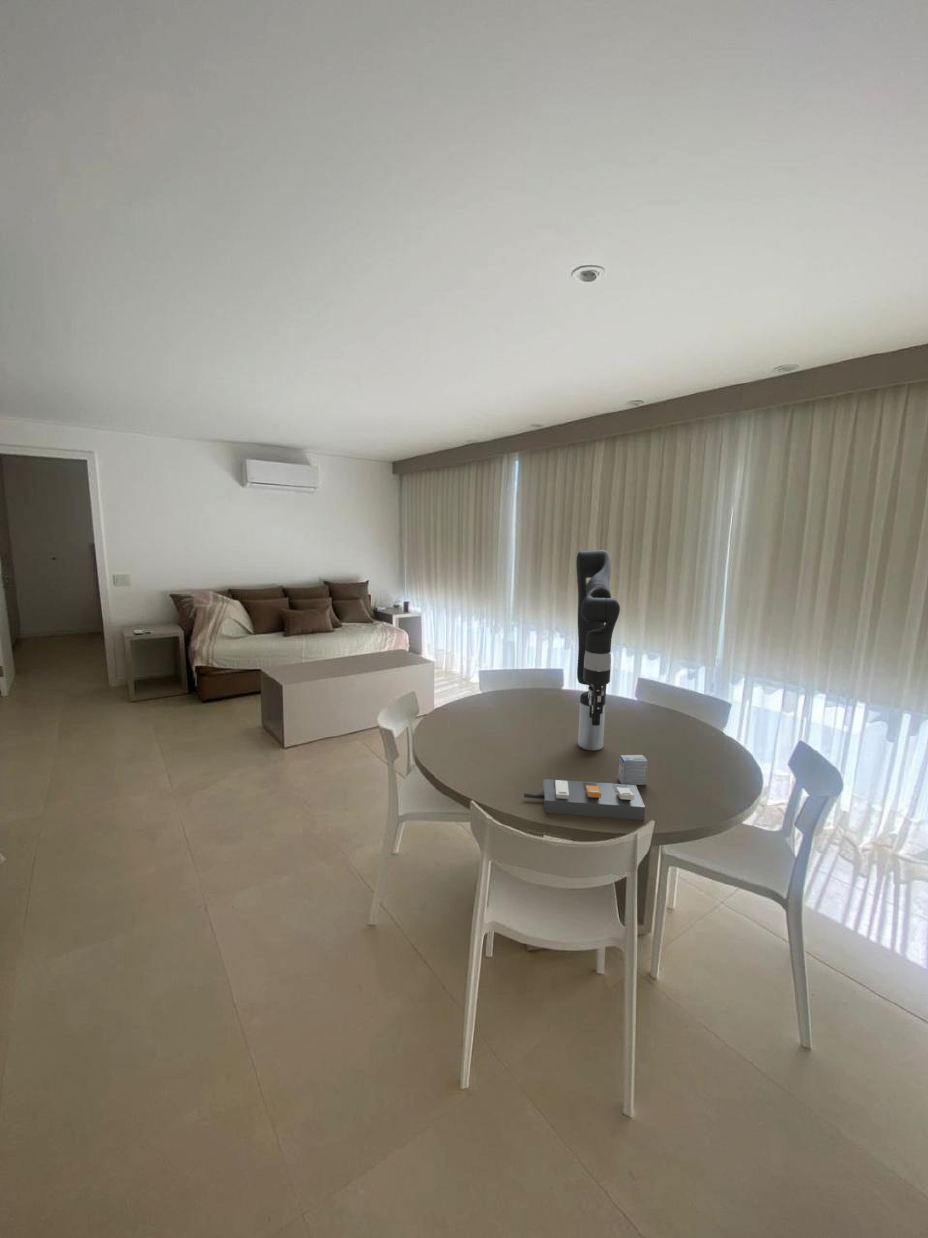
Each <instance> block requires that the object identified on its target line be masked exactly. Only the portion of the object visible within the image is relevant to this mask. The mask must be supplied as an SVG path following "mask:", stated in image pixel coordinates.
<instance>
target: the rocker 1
mask: <svg viewBox="0 0 928 1238" xmlns="http://www.w3.org/2000/svg"><path fill="white" fill-rule="evenodd" d="M554 780H555V789H556V798H562V799H569V790H568V781H569V780H564V781H563V780H562V779H554Z"/></svg>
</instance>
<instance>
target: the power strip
mask: <svg viewBox="0 0 928 1238" xmlns="http://www.w3.org/2000/svg"><path fill="white" fill-rule="evenodd" d="M555 780H556V779H546V778H544V779H543V781H542V782H543V785H542V787H543V789H542V794H538V793H526V792H525V793H523V797H524V798H527V799H537V800H538V799H541V800H543V807H544V810H543V811H544V813H545V814H556V815H557V814H558V815H571V816H585V817H599V818H612V819H624V820H641V821H644V820H645V814H646V806H645V804H644V801H643V799H642V796H641V794H640V791H639V789H638V787H637V785H626V784H621V783H609V782H607V783H606V782H593V781H578V780H577V781H576V780H567V781H568V790H569V799H562V798H556V789H555ZM563 781H565V780H563ZM586 785H589V786H598V787H599V789H600V791H601V798H597V797H588V795H587V793H586ZM617 787H619V788H629V789H630V790H631V792H632V793H633V795H634V800H627V799H620V797H619V796H618V794H617V792H616V791H617Z"/></svg>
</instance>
